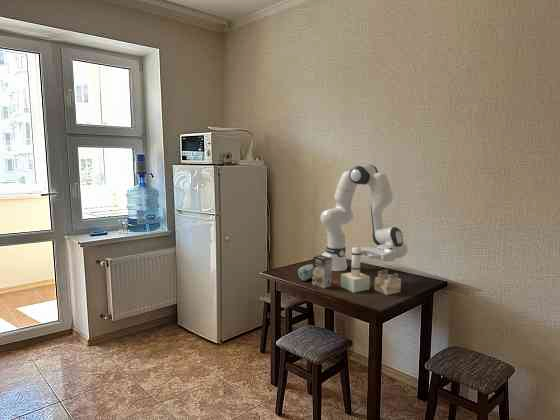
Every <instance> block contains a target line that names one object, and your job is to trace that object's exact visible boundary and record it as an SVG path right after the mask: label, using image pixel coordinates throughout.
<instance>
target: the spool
mask: <svg viewBox="0 0 560 420" xmlns="http://www.w3.org/2000/svg"><path fill="white" fill-rule="evenodd" d="M297 274H298V277H299V279H300V280H301V281H304V282H305V281H308V280H310V279H312V278H313V263H312V264H306V265H303V266H301V267H299V268H298V269H297Z"/></svg>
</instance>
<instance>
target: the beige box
mask: <svg viewBox="0 0 560 420" xmlns="http://www.w3.org/2000/svg"><path fill="white" fill-rule="evenodd" d="M340 282H341V287H340V288H343V289H345V290H347V291H349V292H352V293H358V292H363V291H368V290H370V288H371V276H369V275H367V274H364V273H361V272H360V276H359V277H354V276H351V272H345V273H341V274H340Z"/></svg>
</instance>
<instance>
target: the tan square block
mask: <svg viewBox="0 0 560 420" xmlns="http://www.w3.org/2000/svg"><path fill="white" fill-rule="evenodd" d="M388 272H389V270H387V269H383V270H378V272H377V276H375V277H374V288H373V289H374V291H376V292H378V293H381V294H384V295H385V296H389V295H393V294H398V293H401V290H402V289H401V288H402V278H399V273H391V274H389V273H388Z"/></svg>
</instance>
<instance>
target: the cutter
mask: <svg viewBox="0 0 560 420" xmlns="http://www.w3.org/2000/svg"><path fill="white" fill-rule="evenodd" d="M334 285H335V287H340V288H342V287H341V281H338V280H334V279H332V281H331V286H334Z"/></svg>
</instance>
